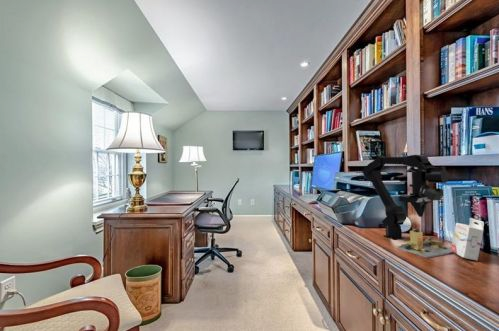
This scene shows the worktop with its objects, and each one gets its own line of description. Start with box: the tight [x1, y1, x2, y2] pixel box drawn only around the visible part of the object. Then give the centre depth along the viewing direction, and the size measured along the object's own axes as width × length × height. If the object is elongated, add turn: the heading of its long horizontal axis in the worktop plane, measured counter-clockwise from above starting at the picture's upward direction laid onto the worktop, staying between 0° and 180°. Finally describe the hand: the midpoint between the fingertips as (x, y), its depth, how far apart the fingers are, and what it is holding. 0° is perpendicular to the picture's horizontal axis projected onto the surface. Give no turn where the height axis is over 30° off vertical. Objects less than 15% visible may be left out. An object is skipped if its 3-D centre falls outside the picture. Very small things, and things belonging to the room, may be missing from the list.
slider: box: [404, 228, 425, 251], centre depth 105 cm, size 8×3×8 cm, turn 17°
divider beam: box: [401, 237, 445, 249], centre depth 107 cm, size 8×18×3 cm, turn 107°
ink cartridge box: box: [450, 217, 485, 262], centre depth 96 cm, size 9×5×15 cm, turn 169°
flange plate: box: [397, 244, 455, 259], centre depth 105 cm, size 13×19×1 cm
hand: (420, 216), depth 113 cm, fingers closed
